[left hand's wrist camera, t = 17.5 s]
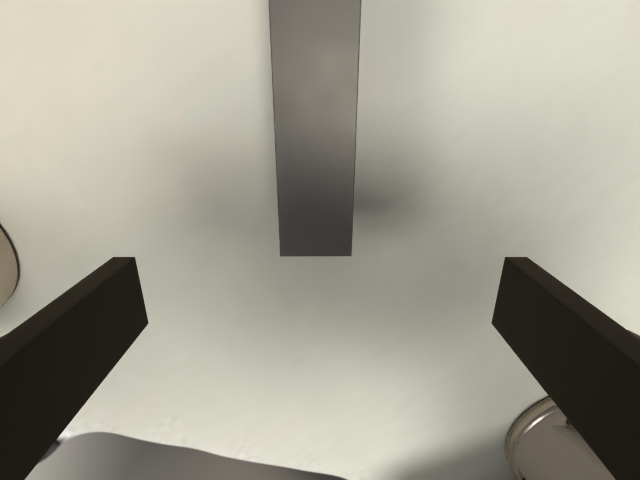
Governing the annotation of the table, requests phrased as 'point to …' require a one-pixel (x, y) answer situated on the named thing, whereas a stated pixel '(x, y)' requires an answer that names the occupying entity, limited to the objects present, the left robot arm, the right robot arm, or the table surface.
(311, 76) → the bar
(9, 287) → the bust sculpture
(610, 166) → the table surface
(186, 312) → the table surface
